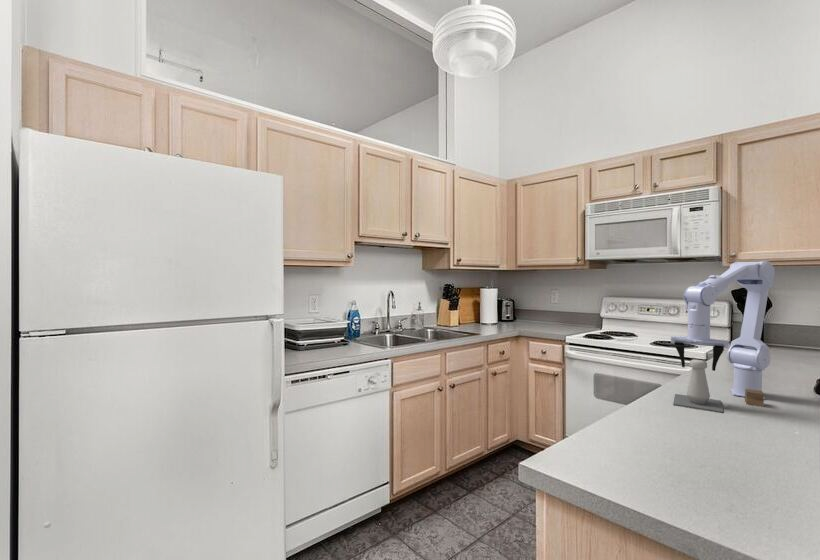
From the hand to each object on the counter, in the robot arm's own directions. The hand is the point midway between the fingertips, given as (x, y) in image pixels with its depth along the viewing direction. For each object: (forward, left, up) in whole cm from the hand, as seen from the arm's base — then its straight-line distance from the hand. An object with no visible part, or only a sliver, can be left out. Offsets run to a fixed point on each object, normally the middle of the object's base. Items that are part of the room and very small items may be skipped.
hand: (698, 368), depth 127 cm
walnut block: (-7, +14, -10) cm, 19 cm away
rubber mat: (+3, 0, -10) cm, 11 cm away
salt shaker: (+3, 0, -10) cm, 11 cm away
